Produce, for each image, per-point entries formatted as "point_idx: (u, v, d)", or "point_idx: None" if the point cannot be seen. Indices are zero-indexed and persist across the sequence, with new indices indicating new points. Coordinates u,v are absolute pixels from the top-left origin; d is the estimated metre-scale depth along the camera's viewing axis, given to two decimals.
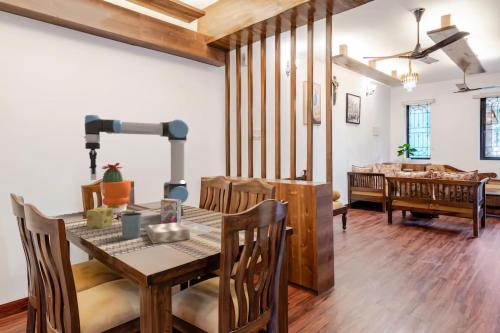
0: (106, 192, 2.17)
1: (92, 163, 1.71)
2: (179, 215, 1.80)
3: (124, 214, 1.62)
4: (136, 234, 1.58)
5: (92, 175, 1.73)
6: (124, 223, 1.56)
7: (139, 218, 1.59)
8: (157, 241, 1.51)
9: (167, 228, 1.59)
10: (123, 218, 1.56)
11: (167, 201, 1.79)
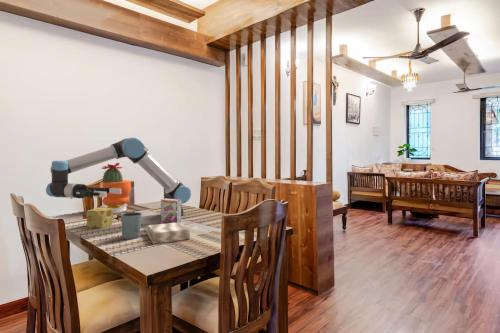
0: None
1: (85, 194, 1.53)
2: (179, 215, 1.80)
3: (124, 214, 1.62)
4: (136, 234, 1.58)
5: (100, 195, 1.55)
6: (124, 223, 1.56)
7: (139, 218, 1.59)
8: (157, 241, 1.51)
9: (167, 228, 1.59)
10: (123, 218, 1.56)
11: (167, 201, 1.79)
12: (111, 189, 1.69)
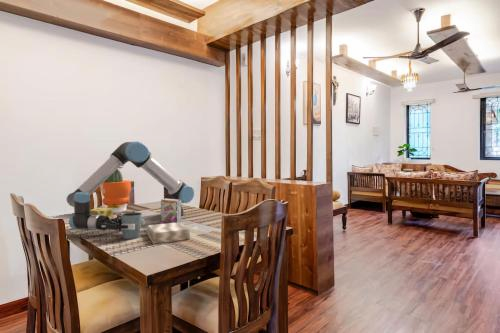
0: (106, 192, 2.17)
1: (114, 228, 1.53)
2: (179, 215, 1.80)
3: (124, 214, 1.62)
4: (136, 234, 1.59)
5: (129, 227, 1.55)
6: (124, 223, 1.57)
7: (139, 218, 1.59)
8: (157, 241, 1.51)
9: (167, 228, 1.59)
10: (123, 218, 1.56)
11: (167, 201, 1.79)
12: None
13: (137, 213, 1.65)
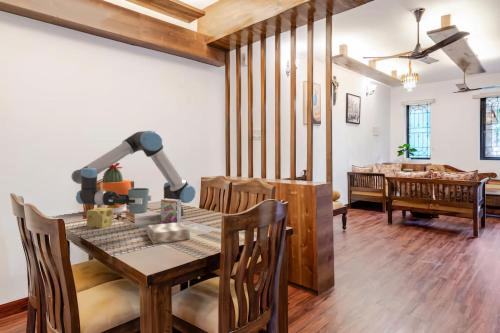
0: None
1: (121, 202, 1.52)
2: (179, 215, 1.80)
3: (131, 189, 1.61)
4: (143, 209, 1.57)
5: (136, 202, 1.54)
6: (131, 197, 1.55)
7: (146, 193, 1.58)
8: (157, 241, 1.51)
9: (167, 228, 1.59)
10: (130, 192, 1.55)
11: (167, 201, 1.79)
12: None
13: (144, 189, 1.64)
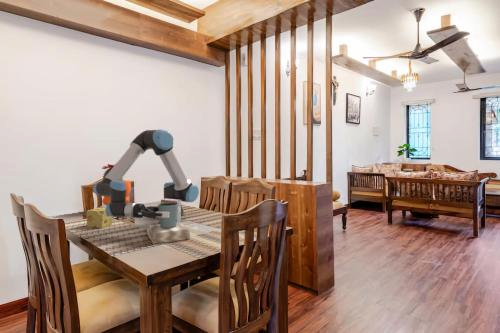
0: None
1: (149, 215, 1.53)
2: (179, 215, 1.80)
3: (160, 204, 1.64)
4: (174, 223, 1.61)
5: (163, 215, 1.54)
6: None
7: (176, 208, 1.62)
8: (157, 241, 1.51)
9: (167, 228, 1.59)
10: (161, 208, 1.58)
11: (167, 201, 1.79)
12: None
13: (172, 203, 1.67)
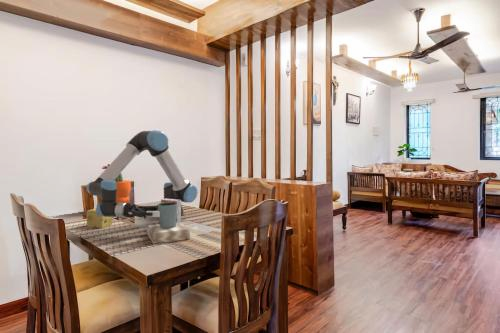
0: None
1: (139, 215, 1.53)
2: (179, 215, 1.80)
3: (159, 204, 1.64)
4: (174, 223, 1.61)
5: (154, 215, 1.55)
6: (162, 213, 1.59)
7: (176, 207, 1.62)
8: (157, 241, 1.51)
9: (167, 228, 1.59)
10: (161, 208, 1.58)
11: (167, 201, 1.79)
12: None
13: (171, 203, 1.67)
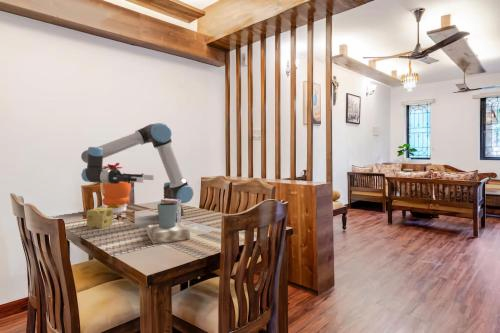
0: (106, 192, 2.17)
1: (123, 180, 1.59)
2: (179, 215, 1.80)
3: (159, 204, 1.64)
4: (174, 223, 1.62)
5: (138, 180, 1.61)
6: (163, 213, 1.59)
7: (176, 207, 1.63)
8: (157, 241, 1.51)
9: (167, 228, 1.59)
10: (162, 208, 1.59)
11: (167, 201, 1.79)
12: (144, 175, 1.74)
13: (170, 203, 1.68)
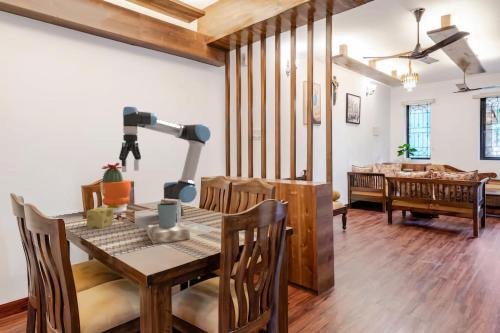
0: (106, 192, 2.17)
1: (121, 155, 1.68)
2: (179, 215, 1.80)
3: (159, 204, 1.64)
4: (174, 223, 1.62)
5: (123, 167, 1.71)
6: (163, 213, 1.59)
7: (176, 207, 1.63)
8: (157, 241, 1.51)
9: (167, 228, 1.59)
10: (162, 208, 1.59)
11: (167, 201, 1.79)
12: (137, 161, 1.84)
13: (170, 203, 1.68)
